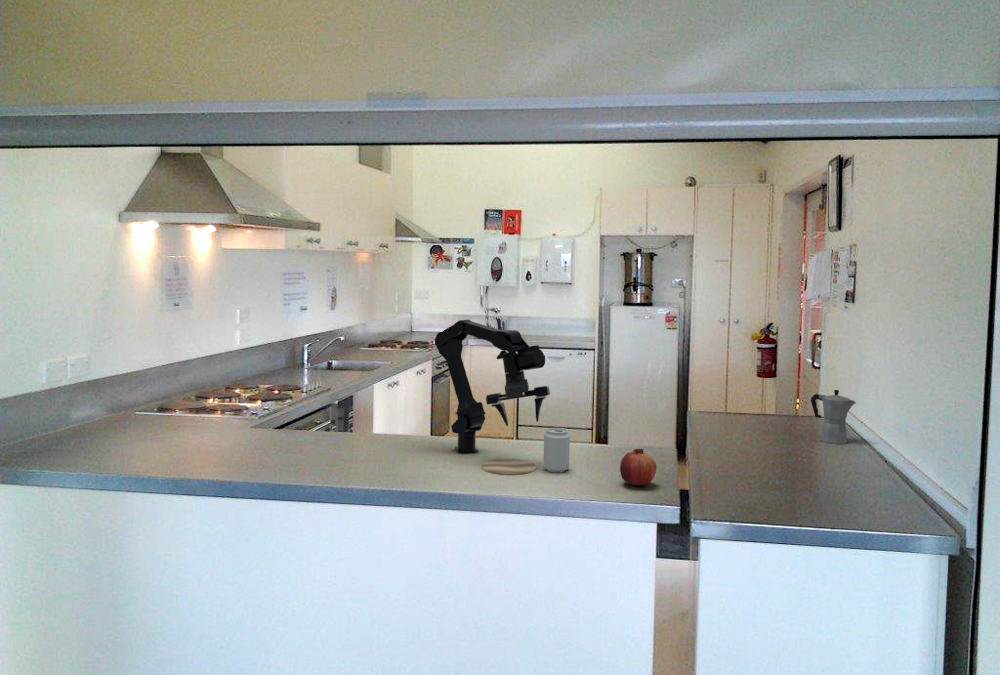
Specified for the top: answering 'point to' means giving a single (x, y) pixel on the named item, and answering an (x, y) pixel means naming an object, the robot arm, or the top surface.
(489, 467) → the trivet
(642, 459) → the fruit
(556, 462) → the can
